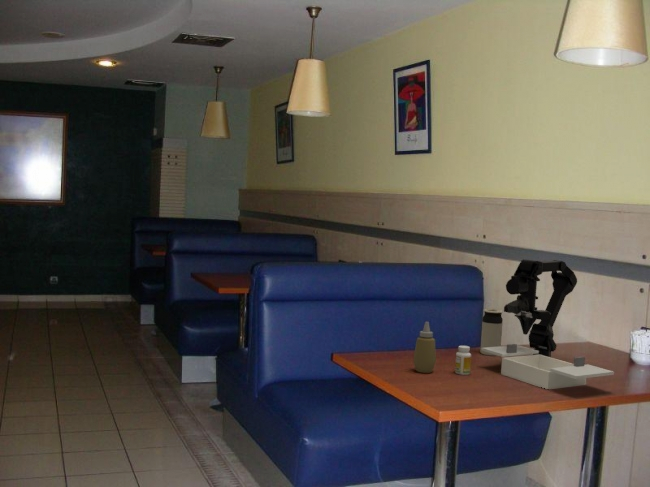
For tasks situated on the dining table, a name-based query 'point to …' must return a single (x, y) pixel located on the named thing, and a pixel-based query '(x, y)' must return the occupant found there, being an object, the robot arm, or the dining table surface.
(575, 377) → the flap
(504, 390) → the dining table surface
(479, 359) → the dining table surface
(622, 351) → the dining table surface
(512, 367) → the carton
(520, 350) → the flap
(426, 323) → the squeeze bottle
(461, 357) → the supplement bottle
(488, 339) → the travel mug
